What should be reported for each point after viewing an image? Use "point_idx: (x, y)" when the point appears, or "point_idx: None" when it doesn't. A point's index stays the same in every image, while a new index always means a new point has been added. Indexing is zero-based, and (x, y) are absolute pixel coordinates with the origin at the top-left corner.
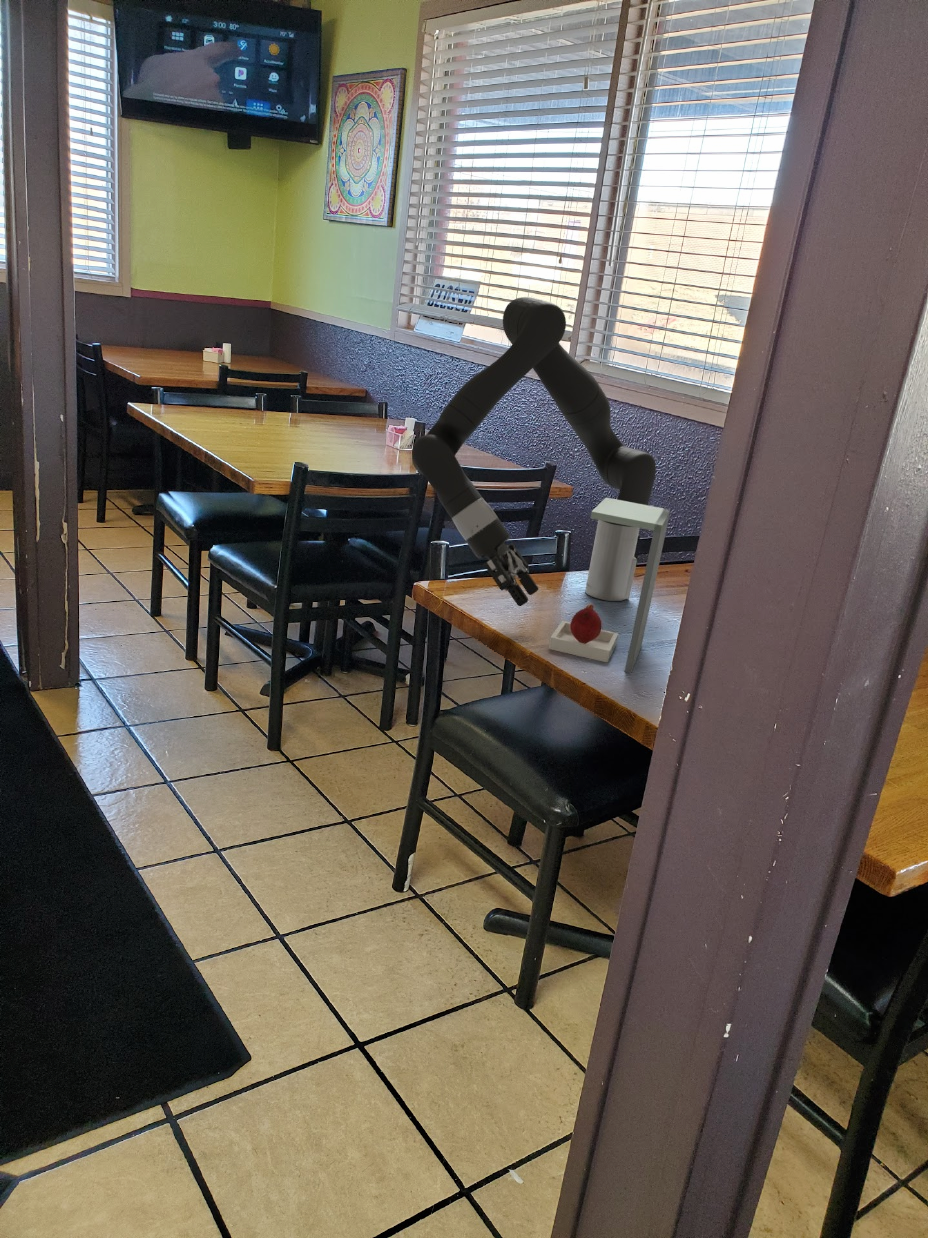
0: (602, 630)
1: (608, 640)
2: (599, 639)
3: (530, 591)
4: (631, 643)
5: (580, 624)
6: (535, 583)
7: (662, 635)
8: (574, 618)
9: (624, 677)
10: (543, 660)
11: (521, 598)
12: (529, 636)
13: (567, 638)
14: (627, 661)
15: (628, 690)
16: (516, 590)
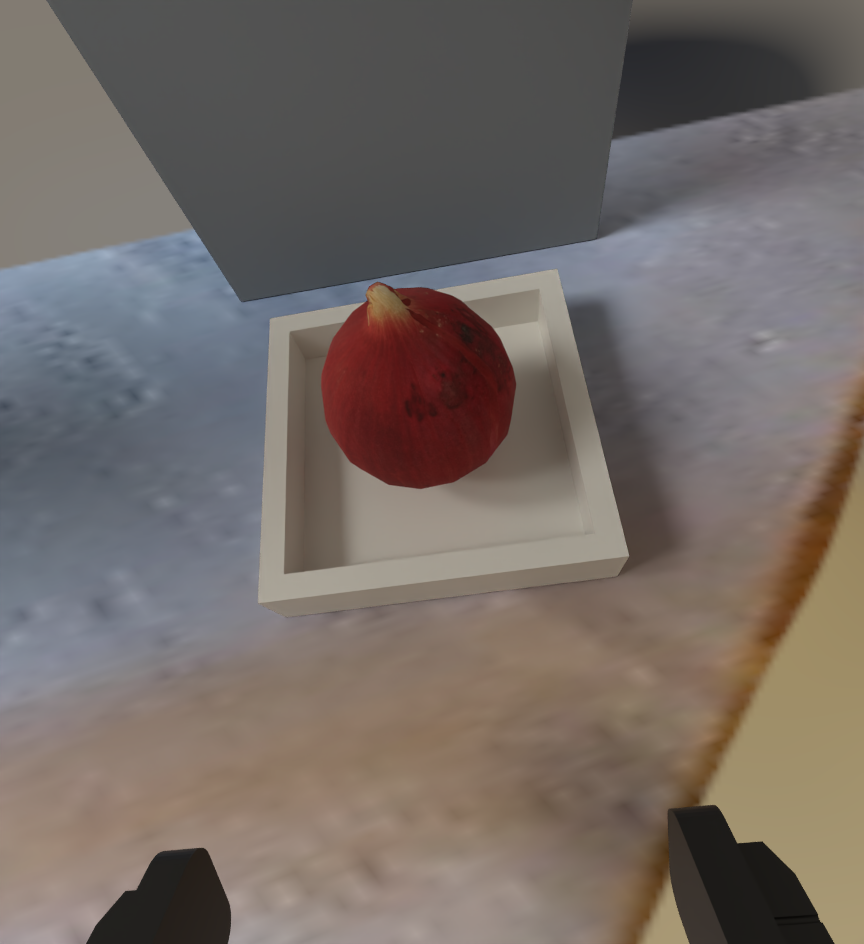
0: (278, 381)
1: (303, 371)
2: (304, 410)
3: (210, 935)
4: (613, 111)
5: (509, 382)
6: (122, 922)
7: (60, 269)
8: (468, 425)
9: (662, 220)
10: (819, 537)
11: (798, 889)
12: (501, 752)
13: (406, 534)
14: (601, 197)
15: (787, 173)
16: None
